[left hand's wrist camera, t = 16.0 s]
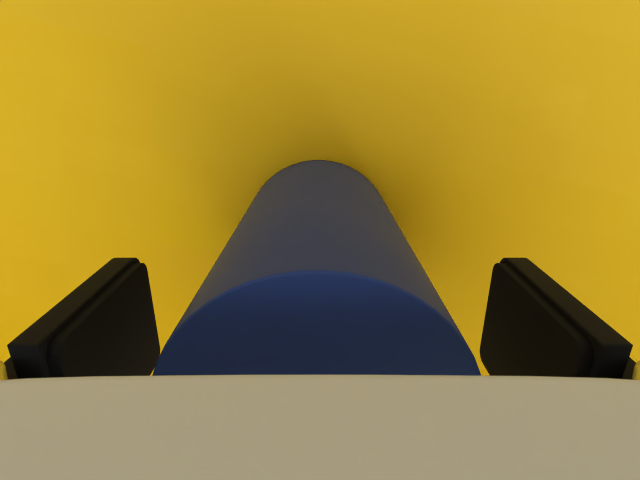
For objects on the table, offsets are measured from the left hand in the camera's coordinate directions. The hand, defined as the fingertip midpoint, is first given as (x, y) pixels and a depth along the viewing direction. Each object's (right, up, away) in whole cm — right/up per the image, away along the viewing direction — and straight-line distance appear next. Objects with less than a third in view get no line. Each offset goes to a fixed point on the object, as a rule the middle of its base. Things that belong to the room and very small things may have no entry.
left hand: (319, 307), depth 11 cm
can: (0, +2, +7) cm, 7 cm away
